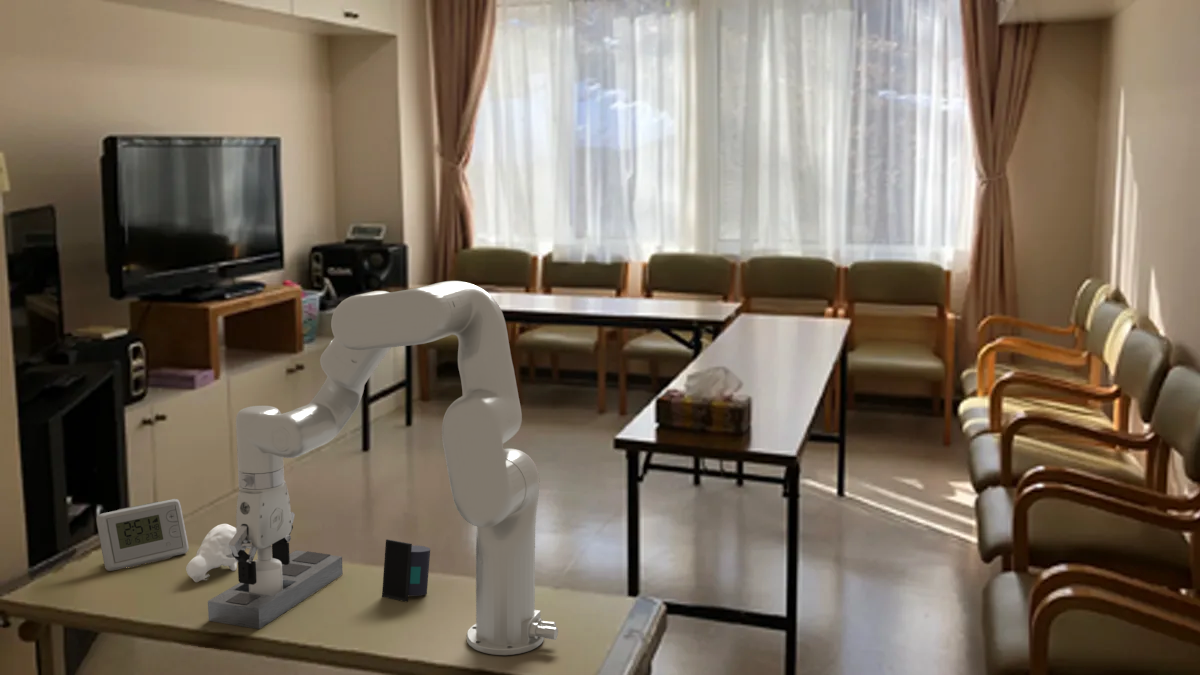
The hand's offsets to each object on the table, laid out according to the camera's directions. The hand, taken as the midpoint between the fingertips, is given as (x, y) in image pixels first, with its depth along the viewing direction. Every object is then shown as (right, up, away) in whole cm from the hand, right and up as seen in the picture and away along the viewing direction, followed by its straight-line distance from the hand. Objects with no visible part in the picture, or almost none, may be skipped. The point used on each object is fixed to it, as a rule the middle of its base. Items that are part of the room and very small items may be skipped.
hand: (264, 573), depth 189 cm
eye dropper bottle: (0, -6, +1) cm, 6 cm away
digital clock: (-30, -2, +21) cm, 37 cm away
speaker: (+24, -5, +7) cm, 25 cm away
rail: (+1, -5, +5) cm, 7 cm away
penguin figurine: (-14, -4, +15) cm, 21 cm away
